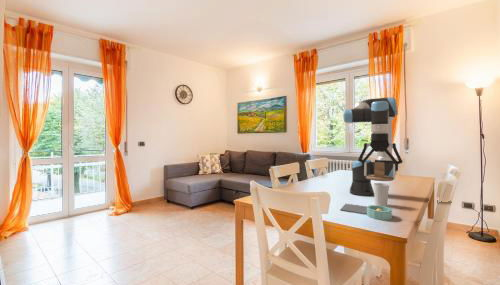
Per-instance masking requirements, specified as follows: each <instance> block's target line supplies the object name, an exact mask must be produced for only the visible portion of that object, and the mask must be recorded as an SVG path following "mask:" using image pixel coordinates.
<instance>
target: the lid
mask: <svg viewBox="0 0 500 285" xmlns="http://www.w3.org/2000/svg"><path fill="white" fill-rule="evenodd" d="M374 162H375V161H374ZM366 179H369V180H371V181H377V182H391V181H394V180H393V177H391V176H386V175H384V162H375V163H374V175H367V176H366Z"/></svg>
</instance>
